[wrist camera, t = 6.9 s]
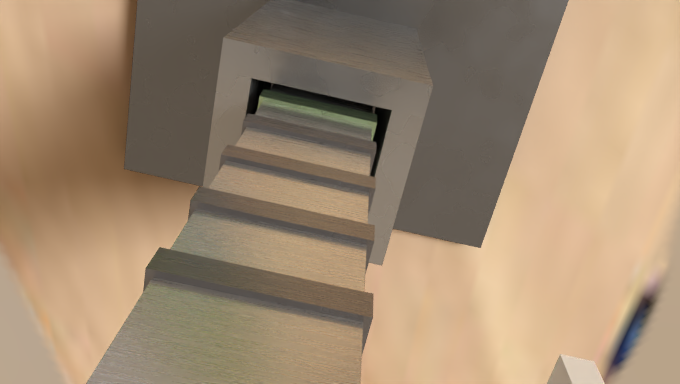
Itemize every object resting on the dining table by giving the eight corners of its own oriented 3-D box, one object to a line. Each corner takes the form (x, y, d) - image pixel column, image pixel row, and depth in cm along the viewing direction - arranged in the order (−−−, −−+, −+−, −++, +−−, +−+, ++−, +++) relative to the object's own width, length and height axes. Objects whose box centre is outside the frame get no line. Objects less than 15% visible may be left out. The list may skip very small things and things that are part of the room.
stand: (155, -123, 32) (17, -143, 20) (569, -24, 33) (680, 13, 21) (131, 161, 39) (16, 276, 27) (477, 238, 40) (520, 384, 27)
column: (280, 63, 27) (-2, 490, 7) (377, 86, 27) (367, 565, 7) (264, 155, 29) (1, 701, 9) (355, 175, 29) (298, 759, 9)
